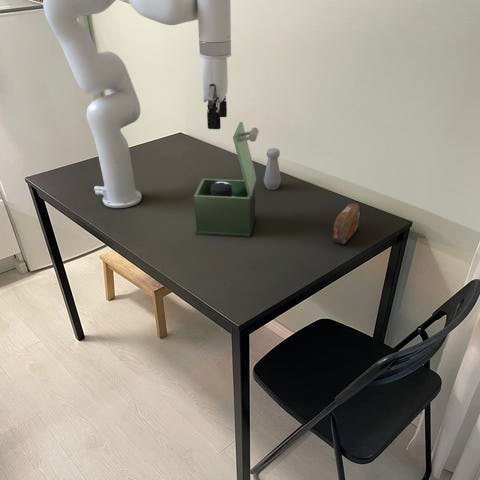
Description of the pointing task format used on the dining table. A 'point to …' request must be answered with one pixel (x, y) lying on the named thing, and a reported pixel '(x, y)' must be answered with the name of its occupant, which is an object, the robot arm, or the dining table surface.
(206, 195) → the bin
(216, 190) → the medicine bottle
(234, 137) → the bin lid
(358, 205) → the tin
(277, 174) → the salt shaker
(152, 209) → the dining table surface
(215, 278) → the dining table surface
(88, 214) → the dining table surface
